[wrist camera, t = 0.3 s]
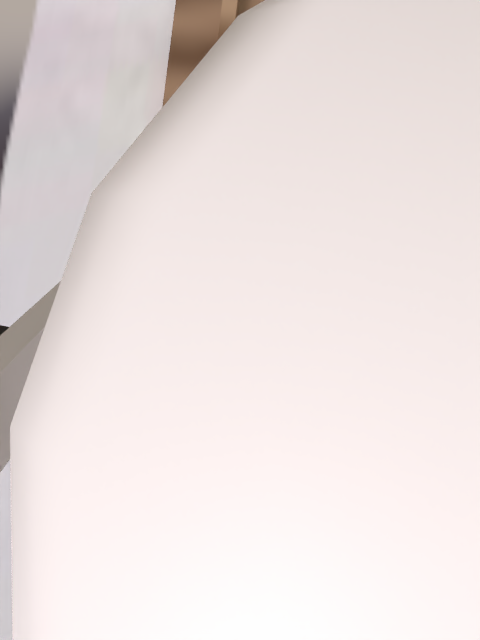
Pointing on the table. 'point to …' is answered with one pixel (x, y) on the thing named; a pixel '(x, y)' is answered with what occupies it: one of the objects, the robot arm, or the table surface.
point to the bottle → (270, 350)
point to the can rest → (198, 34)
